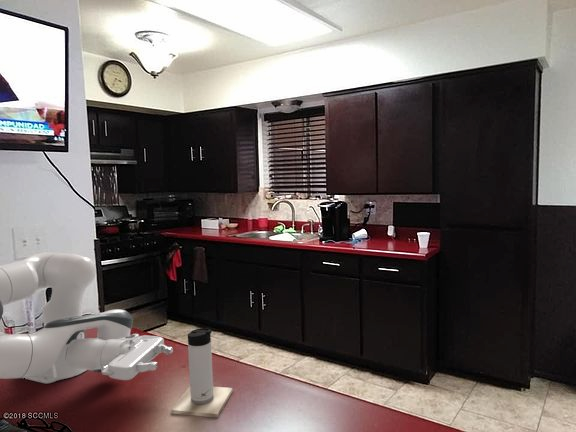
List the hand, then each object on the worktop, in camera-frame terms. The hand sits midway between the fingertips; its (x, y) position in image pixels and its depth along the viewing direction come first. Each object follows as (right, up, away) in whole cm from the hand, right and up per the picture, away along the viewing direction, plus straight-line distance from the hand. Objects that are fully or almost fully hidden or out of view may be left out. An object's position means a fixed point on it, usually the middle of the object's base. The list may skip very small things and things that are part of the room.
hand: (164, 358), depth 118 cm
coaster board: (+11, -12, -1) cm, 16 cm away
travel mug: (+11, -11, -1) cm, 16 cm away
